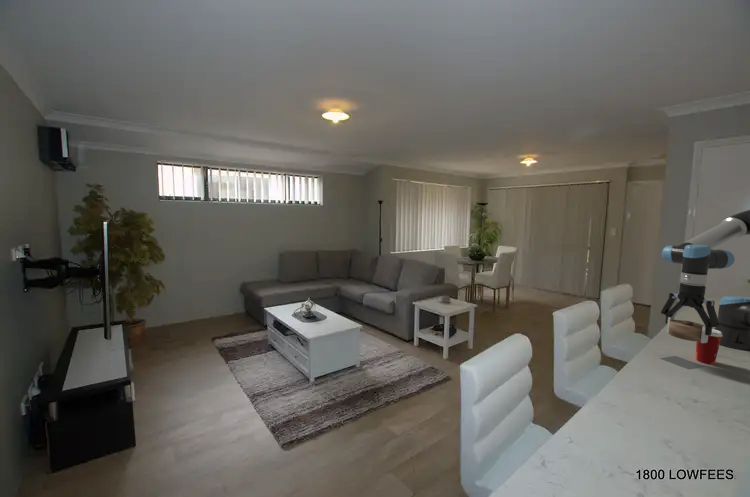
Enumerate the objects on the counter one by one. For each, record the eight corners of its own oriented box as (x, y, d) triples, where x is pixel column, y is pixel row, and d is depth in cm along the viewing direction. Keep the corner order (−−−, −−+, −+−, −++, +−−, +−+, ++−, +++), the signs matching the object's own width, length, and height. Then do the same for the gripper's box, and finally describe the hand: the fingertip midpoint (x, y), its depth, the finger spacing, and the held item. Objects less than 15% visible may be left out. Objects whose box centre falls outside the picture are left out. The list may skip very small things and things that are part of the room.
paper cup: (723, 368, 133) (728, 334, 132) (700, 365, 135) (705, 332, 133) (708, 359, 141) (713, 327, 139) (687, 357, 143) (691, 325, 141)
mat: (675, 357, 143) (675, 355, 143) (704, 367, 133) (704, 366, 133) (659, 359, 139) (659, 358, 139) (688, 370, 130) (688, 369, 130)
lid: (679, 330, 142) (681, 316, 141) (712, 339, 132) (714, 324, 131) (662, 333, 139) (663, 319, 138) (694, 343, 128) (696, 327, 128)
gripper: (653, 278, 142) (648, 328, 145) (725, 291, 120) (717, 349, 123) (665, 277, 145) (659, 326, 147) (737, 290, 123) (729, 347, 125)
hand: (686, 337), depth 135 cm, fingers closed on lid, 11 cm apart
